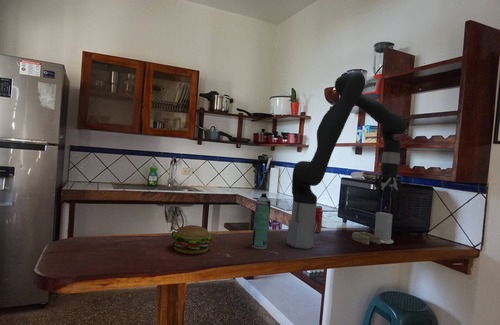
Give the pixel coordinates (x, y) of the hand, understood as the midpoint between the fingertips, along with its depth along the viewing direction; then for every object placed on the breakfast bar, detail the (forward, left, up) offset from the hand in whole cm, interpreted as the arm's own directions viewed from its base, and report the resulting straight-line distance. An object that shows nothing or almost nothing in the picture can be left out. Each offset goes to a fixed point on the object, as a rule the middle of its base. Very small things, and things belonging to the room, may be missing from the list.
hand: (386, 197), depth 146 cm
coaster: (0, 0, -20) cm, 20 cm away
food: (-89, +3, -20) cm, 91 cm away
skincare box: (0, 0, -19) cm, 19 cm away
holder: (-10, 0, -20) cm, 22 cm away
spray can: (-64, +1, -20) cm, 67 cm away
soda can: (-24, +20, -20) cm, 37 cm away
